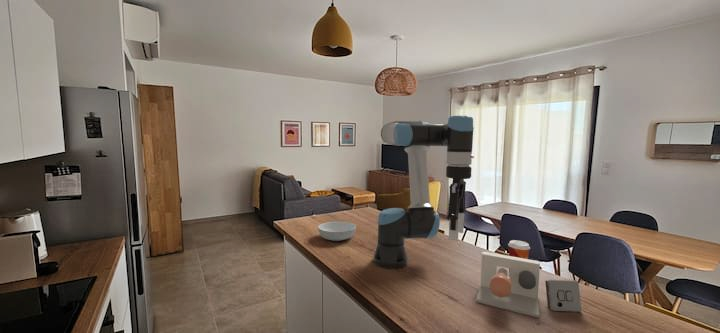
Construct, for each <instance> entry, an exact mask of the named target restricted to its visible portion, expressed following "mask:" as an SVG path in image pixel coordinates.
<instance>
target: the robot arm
mask: <svg viewBox="0 0 720 333" xmlns="http://www.w3.org/2000/svg"><path fill="white" fill-rule="evenodd" d="M474 129H475V128H474V118H473V117H472V116H471V115H451V116H449V117H448V120H447V123H429V122H427V121H421V120H418V121H417V120H415V121H413V120H412V121H411V120H408V121H406V120H403V121H402V120H395V121H394V120H393V121H390V122H387V123H386V124H384V125H383V126H382V128H381V129H380V138H381V140H382V141H383V142H384V143H386V144H388V145H390V146H394V147H395V146H396V147H399V146H400V147H404V152H405V153H407V158H408V159H407V160H408V180H409V194H410V196H409V197H410V199H409V200H410V204H409V206H407V211H405V209H404V208H401V207H391V208H390V207H389V208H385V209H383V210H381V211H380V212H379V213H378V217H377V218H378V219H377V245H376V247H375V251H374V254H373V263H374V264H375V265H376V266H379V267H382V268H385V269H399V268H403V267H405V266H407V265H408V263H409V262H408V261H409V259H408V257H409V256H408V253H407V251H406V247H405V239H406V240H407V239H432V238H435V237H436V236H437V234H438V232H439V230H440V223H441V221H440V216H439V212H437V211H436V210H435V206H433V205H432V204H431V200H430V199H431V198H430V186H429V185H430V183H429V172H428V167H429V166H428V154H427V153H428V151H429V150H430V147H446V164H447V166H446V169H445V172H446V173H445V175H446V178H447V179H452V183H451V184H450V185H449V188H448V189H449V197H448V208H447V209H448V210H447V216H446V217H445V218H446V219H447V220H448V240H450V241H455V242H456V241H459V233H460V234H463V233H464V228H465V227H464V225H465V220H464V219H465V214H466V213H468V212H467V209H466V185H467V182H466V181H465V180H469V179H471V178H472V166H470V165H472V163H473V162H472V161H473V160H472V159H474V158H475V156H474V154H473V143H474V142H473V140H474Z"/></svg>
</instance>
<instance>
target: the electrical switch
mask: <svg viewBox="0 0 720 333" xmlns="http://www.w3.org/2000/svg"><path fill="white" fill-rule="evenodd" d="M544 281H545V290H546V292H545V293H546V302H547V306H548V307H549V308H550V310H551V311H554V312H573V313H574V312H578V313H579V312H581V311H582V302H581V295H580V294H581V292H580V285H579V282H578V281H576V280H575V279H574V280H572V279H569V280H567V279H548V280H544Z"/></svg>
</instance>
